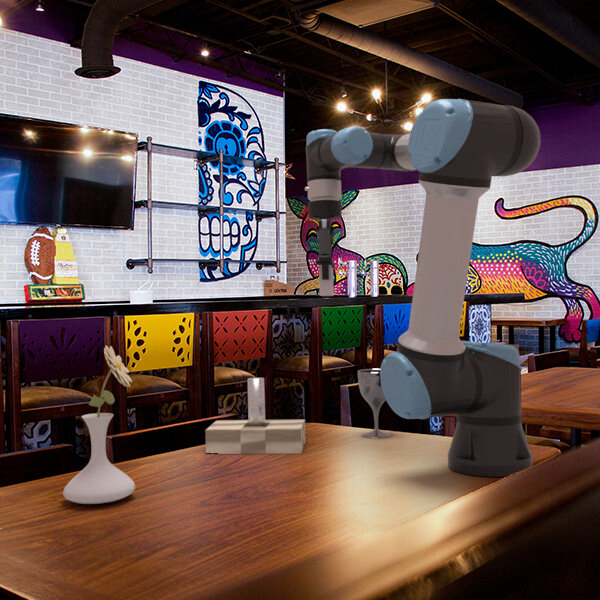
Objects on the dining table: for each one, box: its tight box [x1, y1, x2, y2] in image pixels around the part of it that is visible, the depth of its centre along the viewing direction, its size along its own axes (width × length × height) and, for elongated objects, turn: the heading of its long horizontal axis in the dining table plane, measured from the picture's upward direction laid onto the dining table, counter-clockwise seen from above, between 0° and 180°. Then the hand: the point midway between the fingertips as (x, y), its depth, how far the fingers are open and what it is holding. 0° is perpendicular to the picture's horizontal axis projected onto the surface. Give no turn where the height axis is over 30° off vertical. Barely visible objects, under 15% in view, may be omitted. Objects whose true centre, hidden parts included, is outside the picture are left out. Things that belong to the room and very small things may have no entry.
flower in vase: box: [62, 345, 136, 505], centre depth 117 cm, size 13×11×25 cm
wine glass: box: [357, 368, 393, 439], centre depth 165 cm, size 8×8×15 cm
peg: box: [247, 377, 266, 427], centre depth 154 cm, size 4×4×15 cm
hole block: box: [204, 418, 306, 455], centre depth 154 cm, size 12×20×5 cm, turn 85°
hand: (327, 295), depth 159 cm, fingers open, 13 cm apart
